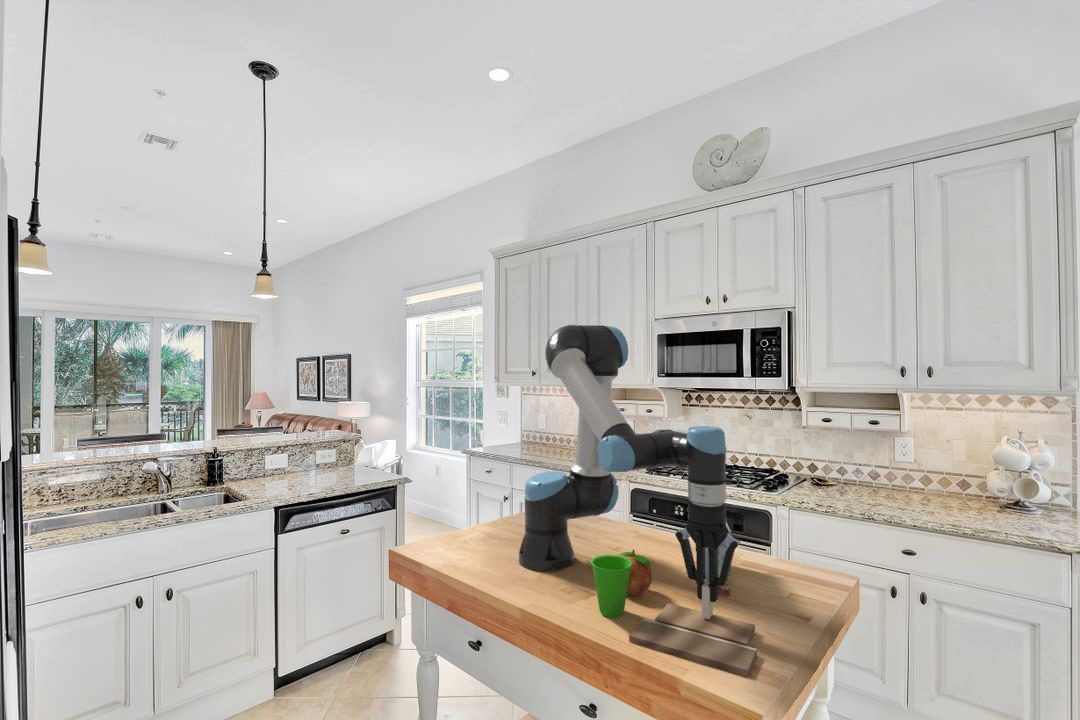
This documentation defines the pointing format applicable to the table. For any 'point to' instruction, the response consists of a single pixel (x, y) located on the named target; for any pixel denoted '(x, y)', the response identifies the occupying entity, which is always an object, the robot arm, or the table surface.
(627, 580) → the cup
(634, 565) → the fruit
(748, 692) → the table surface
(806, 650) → the table surface
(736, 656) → the floorboard
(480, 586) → the table surface
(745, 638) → the plank
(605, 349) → the robot arm
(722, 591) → the snack box
